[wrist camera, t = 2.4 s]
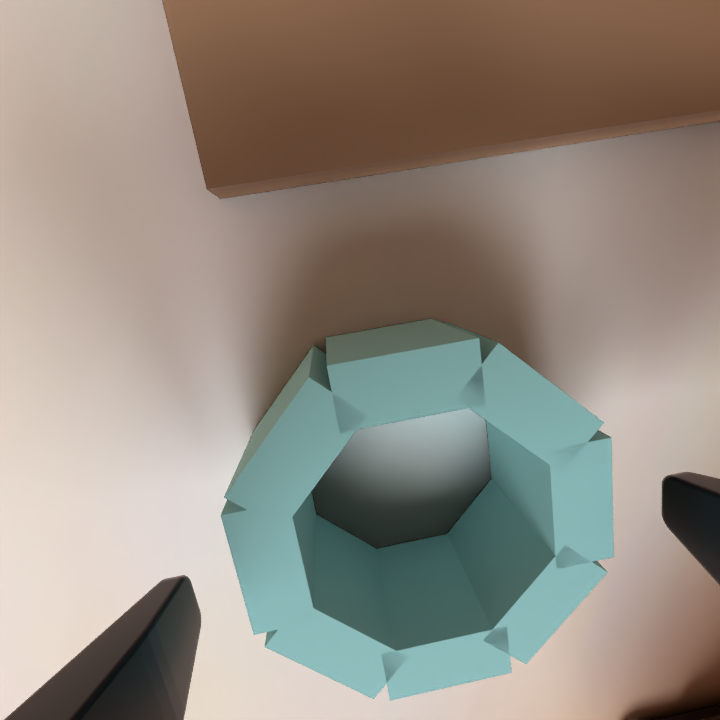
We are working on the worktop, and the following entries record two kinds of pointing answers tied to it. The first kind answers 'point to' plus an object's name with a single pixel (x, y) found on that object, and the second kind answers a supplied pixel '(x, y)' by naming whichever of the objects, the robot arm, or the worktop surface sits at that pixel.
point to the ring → (431, 555)
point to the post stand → (430, 81)
